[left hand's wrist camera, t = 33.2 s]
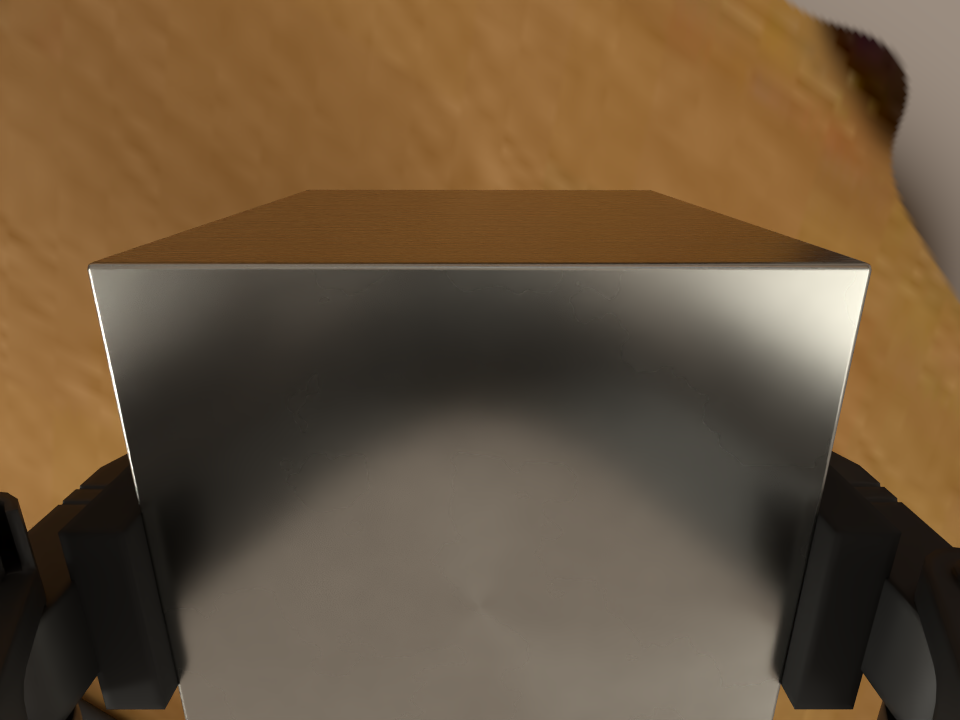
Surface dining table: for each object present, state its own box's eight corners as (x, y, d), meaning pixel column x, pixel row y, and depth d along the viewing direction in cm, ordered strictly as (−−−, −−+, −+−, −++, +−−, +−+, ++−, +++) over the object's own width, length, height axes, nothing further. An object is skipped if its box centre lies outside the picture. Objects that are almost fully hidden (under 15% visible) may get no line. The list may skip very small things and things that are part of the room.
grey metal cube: (653, 189, 15) (876, 263, 6) (623, 509, 18) (748, 839, 9) (306, 189, 15) (82, 262, 6) (335, 509, 18) (209, 839, 9)
